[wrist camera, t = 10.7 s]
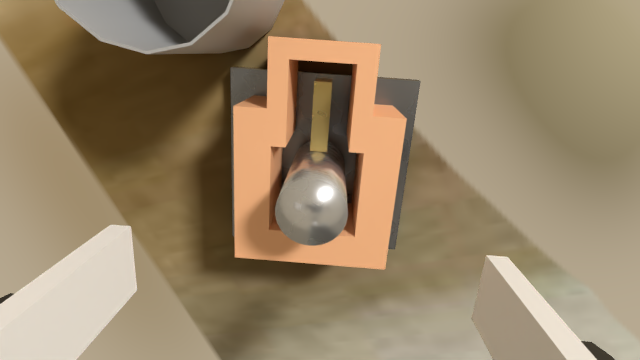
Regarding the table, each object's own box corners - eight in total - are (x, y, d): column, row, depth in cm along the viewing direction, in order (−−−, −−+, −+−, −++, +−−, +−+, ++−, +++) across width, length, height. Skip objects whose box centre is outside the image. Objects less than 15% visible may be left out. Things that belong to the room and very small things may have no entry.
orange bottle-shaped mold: (376, 231, 27) (385, 269, 22) (252, 221, 27) (234, 257, 22) (400, 47, 23) (417, 46, 18) (254, 37, 23) (232, 33, 18)
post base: (392, 242, 28) (417, 325, 20) (236, 230, 28) (193, 306, 20) (417, 79, 24) (460, 95, 16) (234, 66, 24) (180, 74, 16)
